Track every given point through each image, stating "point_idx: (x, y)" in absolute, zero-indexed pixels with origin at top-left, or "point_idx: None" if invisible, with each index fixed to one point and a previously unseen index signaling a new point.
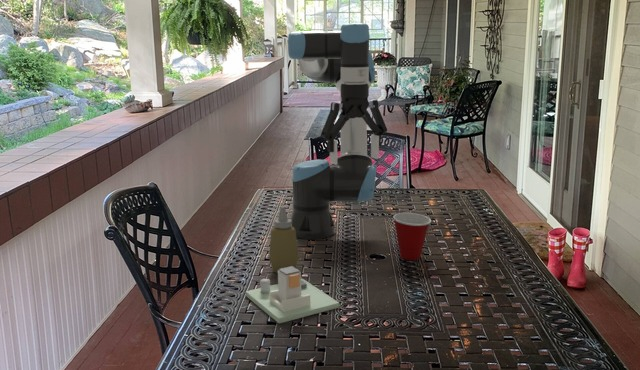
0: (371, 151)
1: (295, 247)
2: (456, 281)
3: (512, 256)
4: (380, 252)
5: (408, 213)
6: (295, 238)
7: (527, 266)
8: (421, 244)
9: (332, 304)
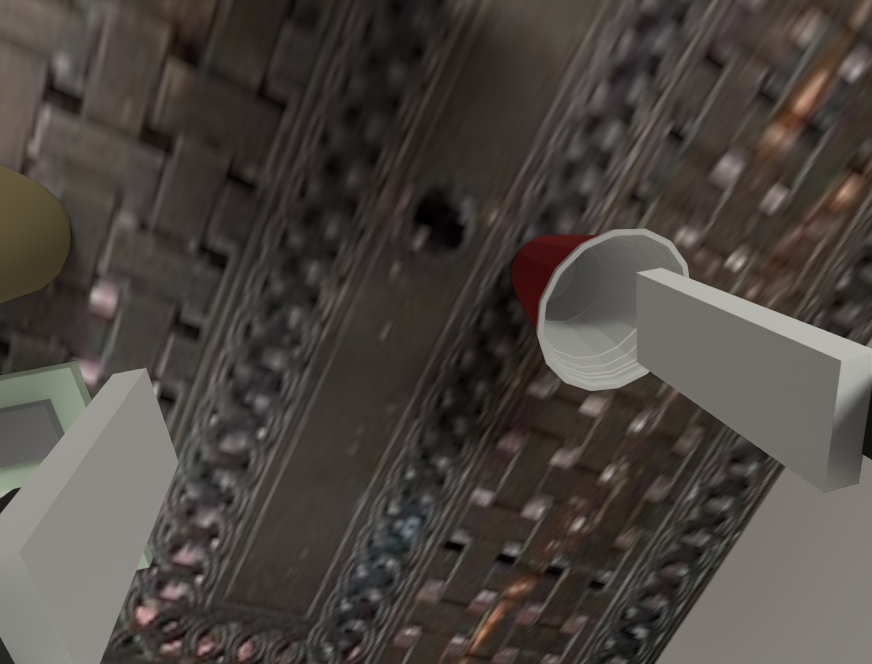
0: (674, 298)
1: (22, 289)
2: (543, 486)
3: None
4: (473, 184)
5: (649, 238)
6: (4, 290)
7: None
8: (582, 325)
9: None
